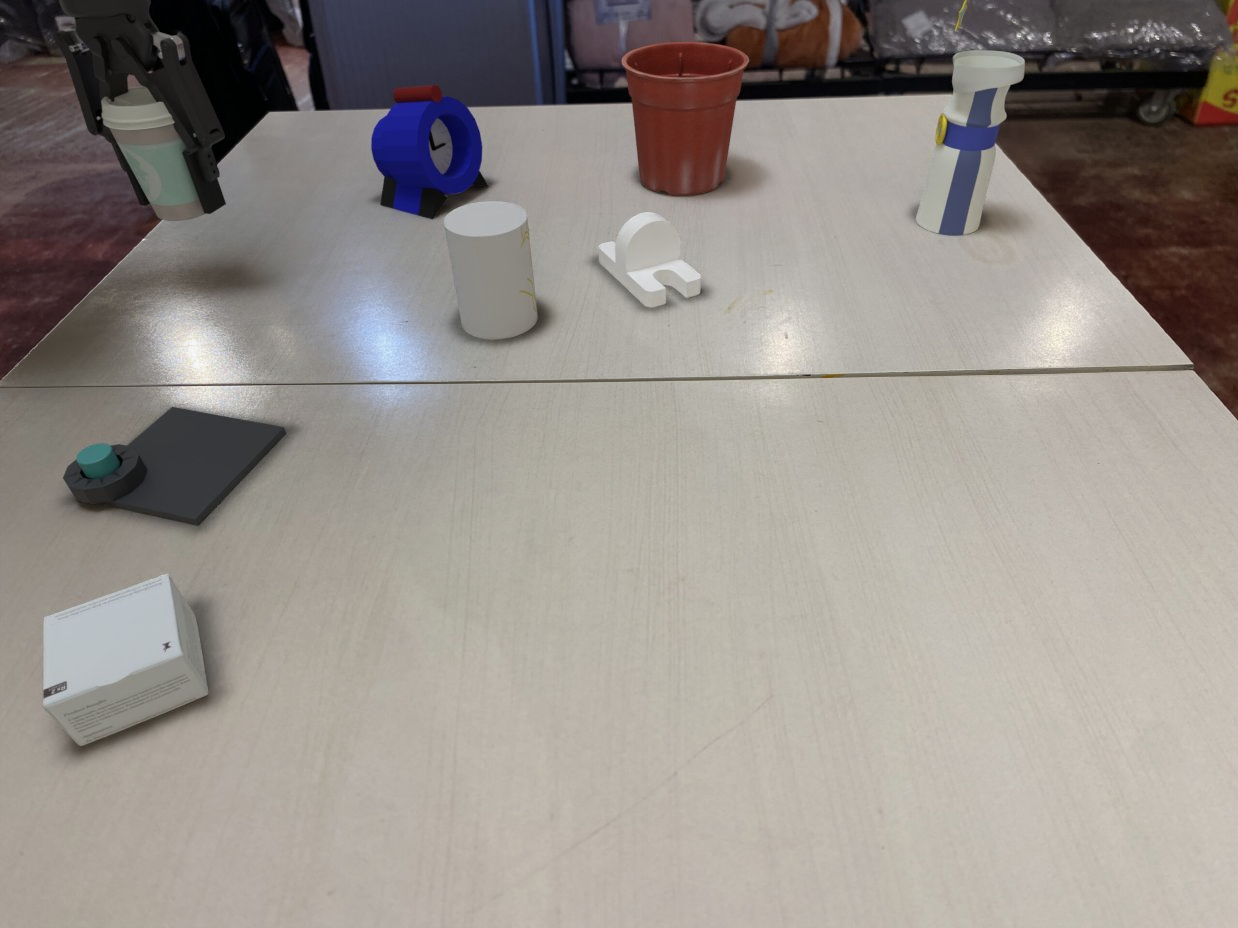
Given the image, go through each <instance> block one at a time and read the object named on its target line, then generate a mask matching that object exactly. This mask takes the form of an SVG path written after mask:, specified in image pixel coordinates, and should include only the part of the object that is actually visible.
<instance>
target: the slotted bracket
mask: <svg viewBox="0 0 1238 928" xmlns="http://www.w3.org/2000/svg"><path fill="white" fill-rule="evenodd" d="M681 247H682V244H681V235H680V233H679V231H678V229H677V228H676V227H675V225H673V224H672V223H671V222H669V221H668V220H667V219H666V218H664V217H663V216H661V215H660V214H658V213H656V212H653V211H645V212H640V213H637V214H635V215H634V216H632V217H630V218H629V219H628V220H627V221H626V222H625V223H624V224H623V225H622V227H621V228H620V230H619V231H618V233H617V237H616V239H615V241H614V240H611V241H606V242H603V243H600V244H599V245H598V247H597V248H598V250H597V251H598V263H599V264H600V265H601V266H602V267H603V268H604V269H605V270H606V271H608V272H609V274H610V275H612V276H613V277H614V278H615V279H616V280H617V281H618V282H619V283H620V284H621V285H622V286H623V287H624V288H625V289H626V290H628V292H630V293H631V294H632V295H633V296H634V297H635V298H636V299H637V300H638V301H639V302H640V303H641V304H642V305H643V306H644V307H647V308H657V307H661V306H664V305H666V304H667V287H665V286H669V287H673V288H674V289H675V290H676V291H678V292H679V294H681V295H682V296H683V297H684V298H686V299H688V298H689V299H690V298H692V297H695V296H696V297H697V296H698V295H700V294H701V289H702V287H701V286H702V274H700V273H699V272H698V271H696V269H694V268H693V267H692V266H691V265H689V264H688V263H687V262H686V261H684V260H683V259H682V258H681V250H682V248H681Z"/></svg>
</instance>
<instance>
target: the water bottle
mask: <svg viewBox="0 0 1238 928" xmlns="http://www.w3.org/2000/svg"><path fill="white" fill-rule="evenodd" d="M967 3H968V0H964V1H963V4H962V7H961V9H960V10H959V11H958V19H957V22H956V25H955V28H954V32H957V30H958V28H961V26H962V23H963V18H964V15H965V13H966V11H967V10H968V9H967V8H968V5H967ZM952 65H953V71H952V79H951V83H952V88H953V92H952V96H951V97H950V100H949V103H948V104H947V105H946V106H945V107H944V109H943V110H942V113H941V114H940V115H939V117H938V121H937V125H936V130H935V144H936V145H935V147H934V149H933V153H932V156H931V160H930V164H929V169H928V172H927V175H926V176H927V177H926V181H925V185H924V188H923V192H922V196H921V199H920V203H919V205H918V210H917V213H916V216H915V222H916V223H917V225H918V226H920V227H921V228H922V229H924V230H926V231H929V232H931V233H934V234H940V235H945V236H964V235H968V234H972V233H974V232H976V231H977V230H978V229H979V228H980V224H981V220H982V214H983V209H984V205H985V200H986V196H987V192H988V188H989V184H990V181H991V177H992V173H993V169H994V166H995V162H996V156H997V148H996V142H997V138H998V135H999V131H1000V127H1001V124H1002V123H1003V122H1004V121H1006V119H1007V117H1008V116H1007V112H1006V109H1005V102H1006V97H1007V95H1008V91H1009V90H1010V87H1011V85H1015V84H1018V83H1020V82H1022V81H1023V79H1024V77H1025V69H1026V67H1025V66H1026V61H1025V58H1023V57H1022V56H1020V55H1018V54H1016V53H1012V52H1009V51H1008V52H1007V51H1002V50H983V49H979V50H977V49H975V50H965V51H960V52H957V53H955V54H954V55H952Z"/></svg>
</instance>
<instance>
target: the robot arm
mask: <svg viewBox="0 0 1238 928" xmlns="http://www.w3.org/2000/svg"><path fill="white" fill-rule="evenodd" d="M58 3H59V4H60V7H61V9H62V11H63V12H64V13H65V14H66V15H67V16H69V17H72V18H74V26H71V27H67V28H64V29H60V30H58V31H55V32H54V33H53V34H52V36H53V40H54V41H55V43H56V45H57V46H58V48H59V50H60V52H61V54H62V55H63V57H64V59H65V62H66V65H67V69H68V72H69V75H70V78H71V81H72V85H73V87H74V90H75V94H76V97H77V100H78V104H79V106H80V110H81V113H82V116H83V119H84V122H85V126H86V129H87V131H88V132H89V133H90V134H91V135H92V136H95V137H97V136H98V135H99V136H101V137H103V138H104V139H105V140H106V141H107V143H109V144H111V146H112V148H113V151H114V154H115V156H116V158H117V161H118V163H119V165H120V167H121V169H122V170H123V172H124V173H126V174H127V177H128V180H129V181H130V184H131V186H132V189H133V191H134V194H135V196H136V199H137V201H138V204H139V205H140V206H145V207H146V206H149V205H151V204H150V202H149V200H148V198H147V197H146V195H145V193H144V191H143V189H142V187H141V186H140V184H139V182H138V180H137V178H136V176H135V175H134V173H133V171H132V169H131V167H130V165H129V163H128V162H127V160H126V158H125V156H124V154H123V152H122V151H121V149H120V147H119V145H118V143H117V141H116V139H115V138H114V136H113V134H112V132H111V130H110V128H109V127H107V126H105V125H104V124H103V118H102V112H103V111H102V103H101V101H102V99H103V98H104V97H108V98H109V99H111V101H112V102H114V98H115V97H117V96H120V95H122V94H125V93H127V92H128V88H129V82H128V80H129V79H128V76H129V75H130V76H134V78H135V79H136V81H137V82H138V84H139V86H144V87H146V88H147V89H148V90H149V92H150V93H151V95H152V96H153V97H154V99H155V100H156V102H163V103H164V105H165V107H166V108H167V110H168V112H169V114H170V115H172V119H173V121H174V122H175V123H173V126H174V129H175V130H176V131H177V133H178V134H179V136H180V137H181V139H182V140H183V142H184V143H185V145H186V146H187V149H185V150H183V152H182V153H183V156H184V159H185V162H186V164H187V167H188V170H189V173H190V175H191V178H192V181H193V184H194V186H195V189H196V192H197V195H198V197H199V200H200V203H201V206H202V208H203V211H204V213H205V214H204V215H211V214H213V213H215V212H216V211H218V210H220V209H221V208H222V207H224V206H225V205H227V202H226V199H225V196H224V194H223V191H222V188H221V185H220V182H219V179H218V178H220V173H221V172H220V169H219V166H218V163H217V160H216V157H215V155H214V152H213V151H214V150H213V148H212V147H213V145H215V144H217V143H219V142H221V141H222V140H225V137H226V135H225V131H224V129H223V126H222V124H221V123H220V121H219V118H218V116H217V113H216V111H215V108H214V107H213V104H212V102H211V100H210V97H209V95H208V93H207V92H206V88H205V86H204V84H203V82H202V80H201V77H200V75H199V73H198V71H197V69H196V66H195V64H194V62H193V59H192V53H191V47H190V42H189V39H188V37H187V36H186V35H185V34H183V33H178V34H175V35H170V34H167V33H164V32H161V31H160V30H159V28H158V27H157V26H156V24H155V23H154V21H153V20H152V18H151V15H150V6H151V4H152V1H151V0H58ZM154 69H155V71H154ZM98 117H99V119H98ZM194 133H195V134H196V137H194V135H193V134H194Z"/></svg>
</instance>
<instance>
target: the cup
mask: <svg viewBox="0 0 1238 928" xmlns="http://www.w3.org/2000/svg"><path fill="white" fill-rule="evenodd" d="M443 226H444V232H445V233H444V234H445V238H446V244H447V250H448V256H449V260H450V261H449V262H450V266H451V272H452V278H453V284H454V288H455V295H456V300H457V301H456V302H457V307H458V311H459V317H460V318H459V319H460V323H461V327H462V329H463V330H464V331H465V332H466V333H467V334H468V335H470V336H473V337H475V338H479V339H483V340H506V339H510V338H514V337H518V336H520V335H522V334H525V333H527V331H530V330H531V329H532V328H533V327H534V326H535V325H536V324H537V321H538V319H539V318H538V317H539V316H538V315H539V314H538V306H537V305H538V304H537V297H536V287H535V286H536V285H535V276H534V268H533V267H534V266H533V259H532V249H531V238H530V229H529V219H528V213H527V211H526V209H525V208H523V207H522V206H520V205H518V204H516V203H513V202H508V201H501V200H485V201H483V200H482V201H477V202H472V203H467V204H464V205H460V206H459V207H457V208H454V209H453V210H451V211H450V212H448V213H447V214H446V215H445V216H444V218H443Z"/></svg>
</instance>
